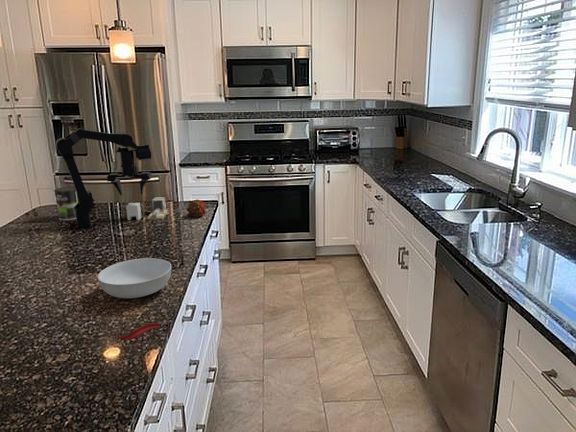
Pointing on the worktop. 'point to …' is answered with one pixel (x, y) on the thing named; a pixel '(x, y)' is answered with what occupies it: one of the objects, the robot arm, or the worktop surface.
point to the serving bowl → (135, 277)
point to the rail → (160, 217)
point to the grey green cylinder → (66, 202)
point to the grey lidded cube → (133, 210)
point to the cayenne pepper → (140, 331)
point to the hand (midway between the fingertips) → (131, 195)
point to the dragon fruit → (197, 208)
